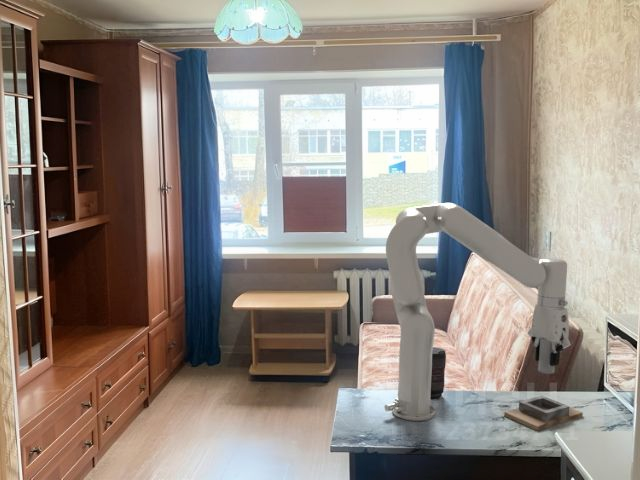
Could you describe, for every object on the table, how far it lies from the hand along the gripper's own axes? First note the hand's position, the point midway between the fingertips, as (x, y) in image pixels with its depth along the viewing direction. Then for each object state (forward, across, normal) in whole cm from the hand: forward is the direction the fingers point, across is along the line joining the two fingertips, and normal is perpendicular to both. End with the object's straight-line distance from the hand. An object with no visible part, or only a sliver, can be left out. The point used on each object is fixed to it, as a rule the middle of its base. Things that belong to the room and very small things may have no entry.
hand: (546, 362), depth 198 cm
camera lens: (+17, +29, +18) cm, 38 cm away
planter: (+3, 0, 0) cm, 3 cm away
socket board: (+17, 0, 0) cm, 17 cm away
